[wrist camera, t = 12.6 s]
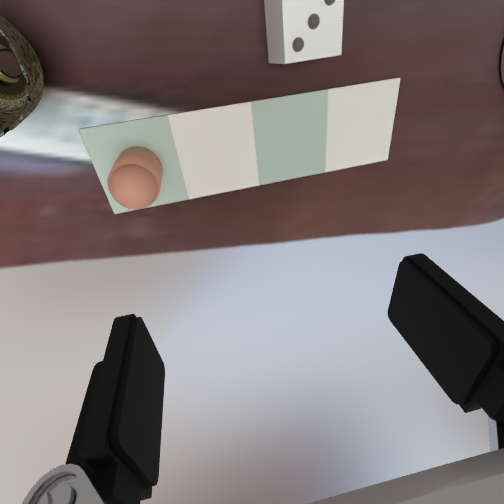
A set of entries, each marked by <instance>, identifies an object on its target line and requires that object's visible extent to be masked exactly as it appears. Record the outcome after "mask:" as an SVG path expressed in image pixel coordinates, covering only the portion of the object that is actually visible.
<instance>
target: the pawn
mask: <svg viewBox="0 0 504 504" xmlns="http://www.w3.org/2000/svg"><path fill="white" fill-rule="evenodd" d="M161 179H162V164H161V162H160V160H159V158H158V157H157V155H156V154H155V153H153V152H152V151H151V150H149V149H147V148H144V147H140V146H133V147H129V148H127V149H125V150H124V151H122V152H121V154H120V155H119V157H118V158H117V160H116V162H115V164H114V165H113V167H112V169H111V171H110V172H109V175H108V178H107V185H108V189H109V192H110V194H111V195H112V197H113V198H114V199H115V201H116V202H117V203H119V204H120V205H121V206H123V207H125V208H128V209H142V208H145V207H148V206H150V205H151V204H153V203H154V202H155V201H156V199H157V198H158V196H159V193H160V187H161Z"/></svg>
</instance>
